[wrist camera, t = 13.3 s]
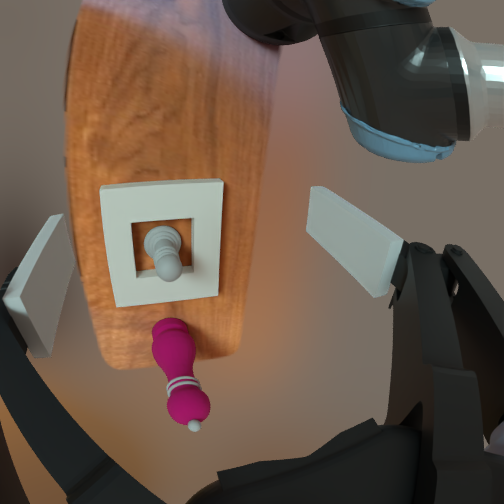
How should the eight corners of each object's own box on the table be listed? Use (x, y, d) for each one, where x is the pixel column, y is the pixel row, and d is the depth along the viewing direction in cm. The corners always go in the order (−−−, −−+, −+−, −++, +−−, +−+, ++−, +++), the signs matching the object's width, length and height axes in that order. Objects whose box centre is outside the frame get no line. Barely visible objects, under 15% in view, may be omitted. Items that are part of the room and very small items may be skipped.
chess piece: (167, 217, 40) (175, 247, 32) (187, 244, 43) (200, 278, 35) (136, 239, 39) (138, 273, 32) (158, 264, 42) (165, 302, 35)
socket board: (101, 185, 34) (99, 189, 32) (219, 178, 40) (223, 182, 38) (116, 299, 42) (116, 307, 41) (214, 288, 48) (218, 295, 46)
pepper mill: (149, 315, 46) (168, 420, 30) (191, 314, 49) (226, 413, 33) (149, 346, 49) (168, 444, 33) (188, 344, 52) (219, 438, 36)
